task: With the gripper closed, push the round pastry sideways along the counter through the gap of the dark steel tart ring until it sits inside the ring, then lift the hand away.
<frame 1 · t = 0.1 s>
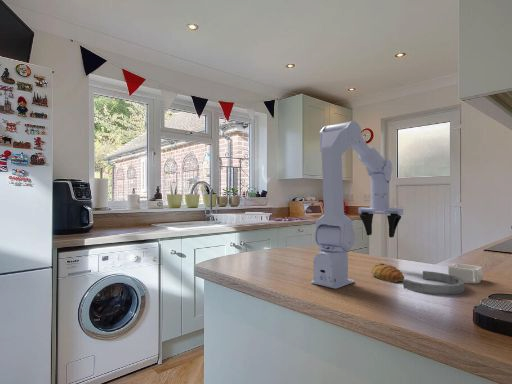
hand: (380, 236, 107), 10 cm above the counter, tool pointing down, fingers open, 7 cm apart
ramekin: (465, 280, 90), on the counter
pastry: (388, 279, 93), on the counter
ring: (429, 285, 85), on the counter
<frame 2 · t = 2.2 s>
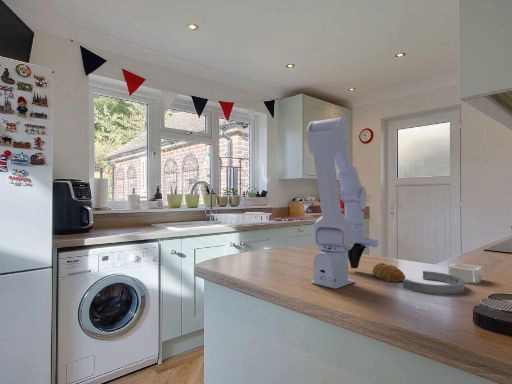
hand: (354, 267, 100), 1 cm above the counter, tool pointing down, fingers closed
nothing on the counter moved.
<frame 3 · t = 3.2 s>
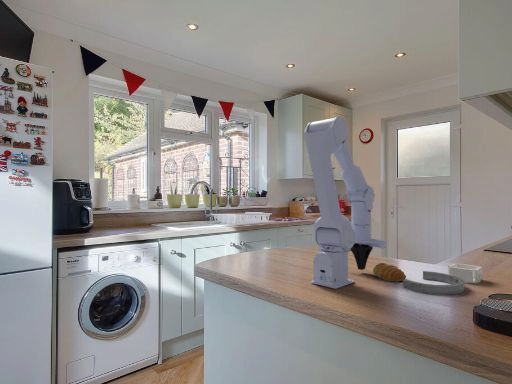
hand: (361, 269, 99), 1 cm above the counter, tool pointing down, fingers closed
nothing on the counter moved.
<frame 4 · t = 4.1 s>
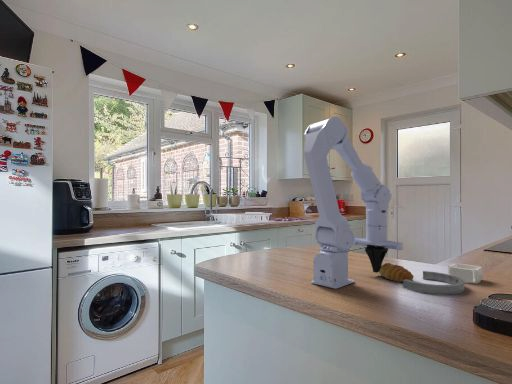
hand: (376, 271, 95), 1 cm above the counter, tool pointing down, fingers closed
pastry: (396, 279, 92), on the counter, touching gripper
everything else where it was.
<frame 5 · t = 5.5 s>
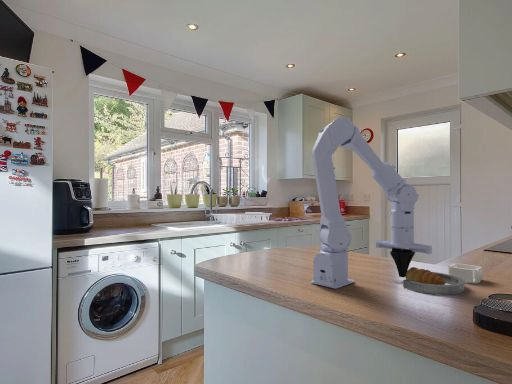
hand: (402, 276, 90), 1 cm above the counter, tool pointing down, fingers closed
pastry: (424, 284, 87), on the counter, touching gripper
everything else where it was.
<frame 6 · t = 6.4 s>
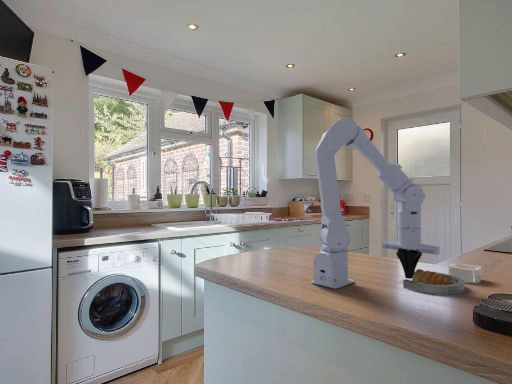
hand: (409, 277, 88), 1 cm above the counter, tool pointing down, fingers closed
pastry: (431, 286, 86), on the counter
everything else where it was.
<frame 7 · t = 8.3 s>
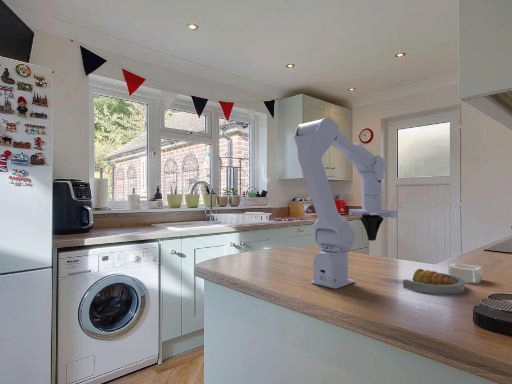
hand: (372, 240, 98), 10 cm above the counter, tool pointing down, fingers closed
nothing on the counter moved.
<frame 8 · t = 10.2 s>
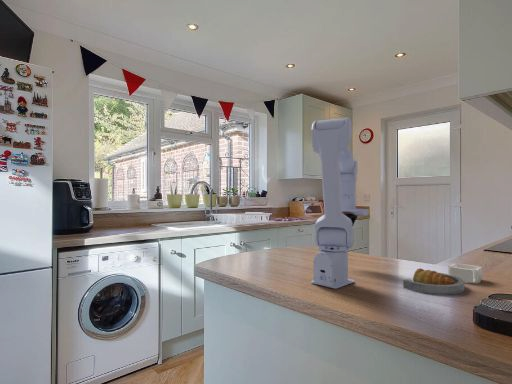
hand: (347, 236, 108), 10 cm above the counter, tool pointing down, fingers closed
nothing on the counter moved.
at the end: pastry 2.1 cm from the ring (horizontally); pastry moved 11.1 cm from its start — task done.
